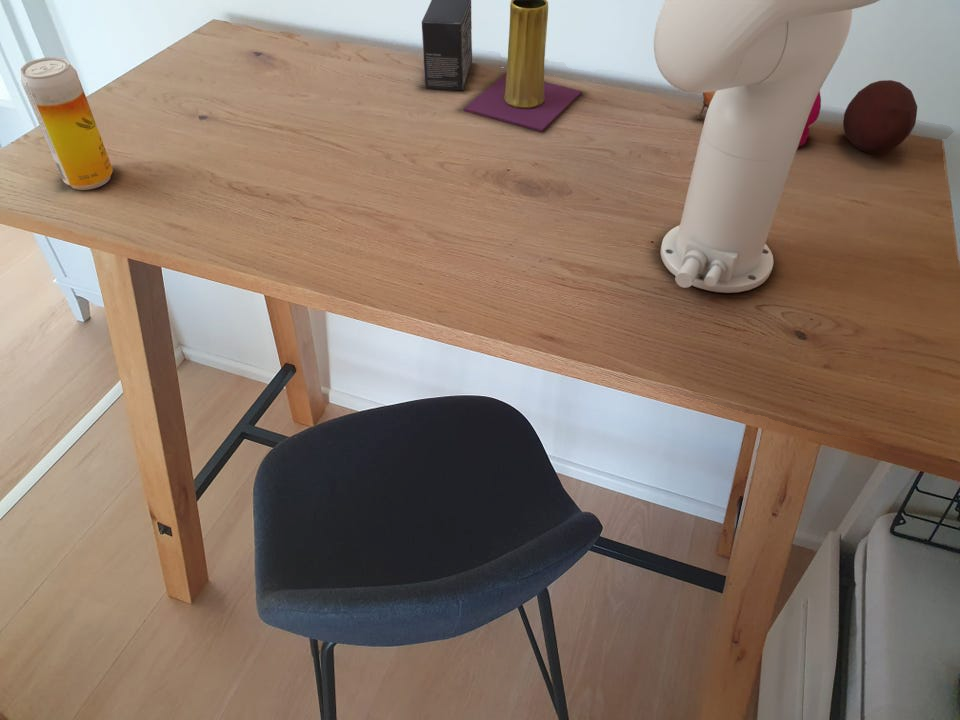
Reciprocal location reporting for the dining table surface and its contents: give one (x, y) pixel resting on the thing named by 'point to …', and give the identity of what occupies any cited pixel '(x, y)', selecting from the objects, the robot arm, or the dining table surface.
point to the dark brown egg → (880, 116)
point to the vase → (526, 53)
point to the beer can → (66, 122)
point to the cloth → (531, 118)
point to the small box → (447, 44)
